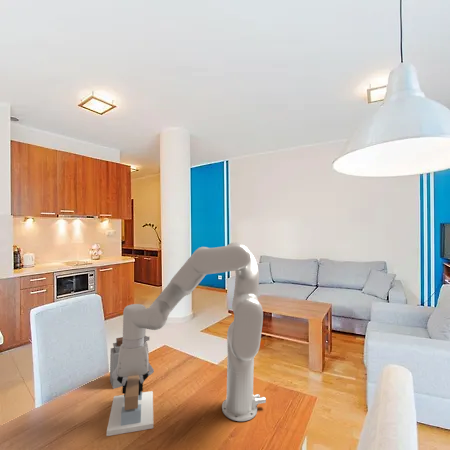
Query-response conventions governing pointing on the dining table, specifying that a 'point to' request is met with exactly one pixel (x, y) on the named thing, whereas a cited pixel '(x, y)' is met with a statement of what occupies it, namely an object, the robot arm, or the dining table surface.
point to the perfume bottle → (115, 361)
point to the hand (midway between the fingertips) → (132, 393)
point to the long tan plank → (132, 392)
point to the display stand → (131, 415)
